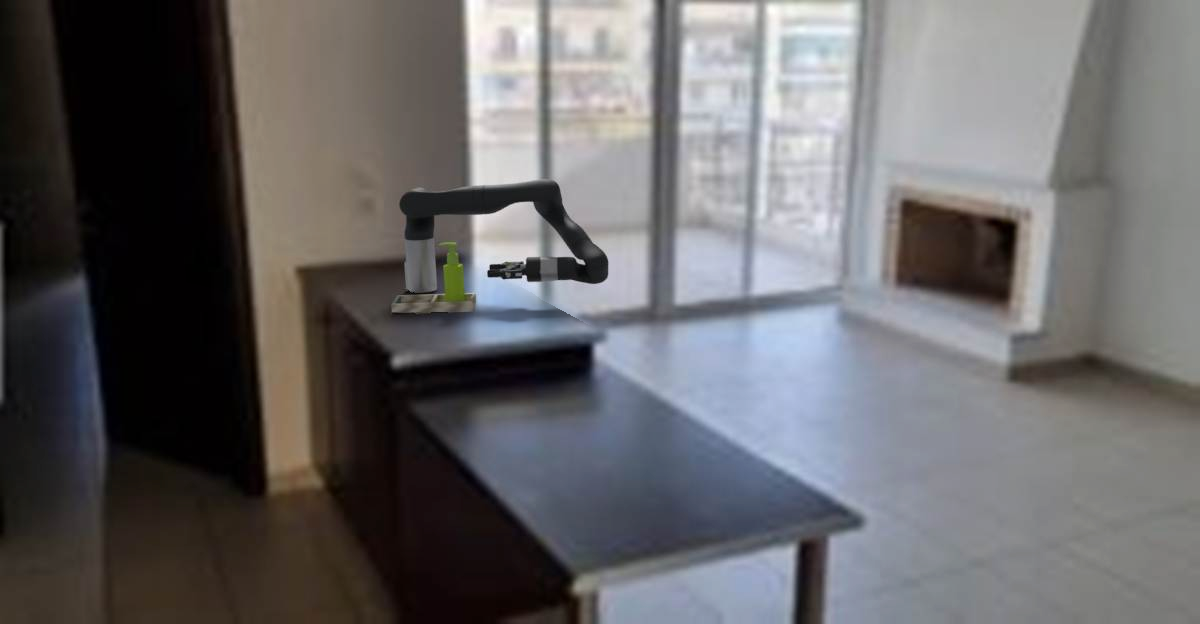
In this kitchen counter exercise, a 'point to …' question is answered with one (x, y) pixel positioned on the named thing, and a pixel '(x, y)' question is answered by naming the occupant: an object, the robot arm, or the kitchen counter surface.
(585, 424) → the kitchen counter surface
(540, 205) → the robot arm
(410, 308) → the caddy
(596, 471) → the kitchen counter surface
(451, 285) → the soap dispenser
